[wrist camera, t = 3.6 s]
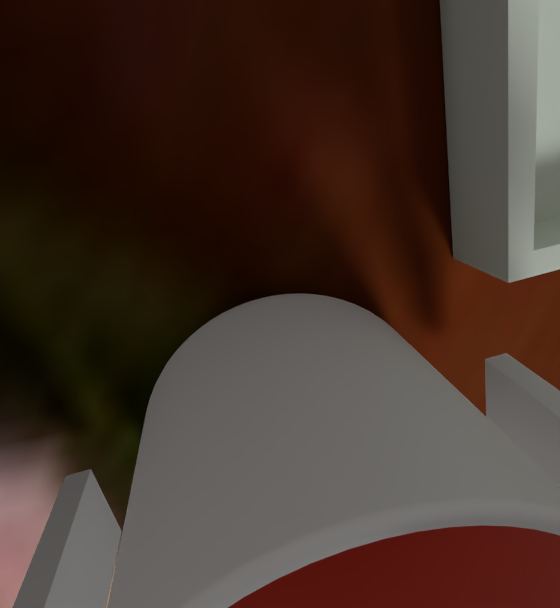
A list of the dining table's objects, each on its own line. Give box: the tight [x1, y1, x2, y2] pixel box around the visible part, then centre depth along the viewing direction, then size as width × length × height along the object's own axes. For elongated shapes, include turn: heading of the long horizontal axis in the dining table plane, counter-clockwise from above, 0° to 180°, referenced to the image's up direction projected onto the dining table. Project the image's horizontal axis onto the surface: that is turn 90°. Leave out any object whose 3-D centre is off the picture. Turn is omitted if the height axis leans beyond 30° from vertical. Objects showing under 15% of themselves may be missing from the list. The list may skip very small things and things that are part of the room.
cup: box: [108, 293, 560, 608], centre depth 12 cm, size 10×10×10 cm
